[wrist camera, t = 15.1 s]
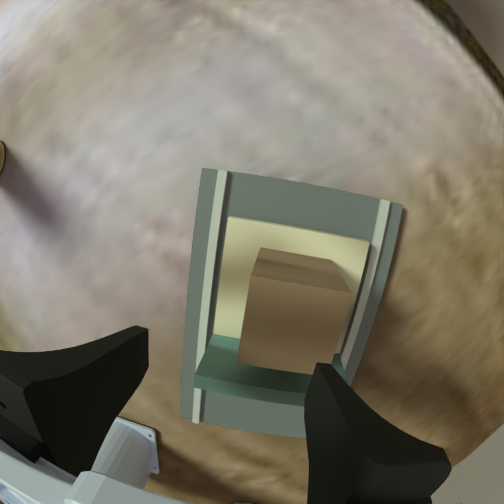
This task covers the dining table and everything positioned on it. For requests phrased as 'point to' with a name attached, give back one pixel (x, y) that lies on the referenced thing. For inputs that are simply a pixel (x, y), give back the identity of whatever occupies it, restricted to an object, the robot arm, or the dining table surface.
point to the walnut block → (292, 312)
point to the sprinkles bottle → (1, 155)
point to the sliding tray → (234, 302)
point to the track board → (292, 214)
